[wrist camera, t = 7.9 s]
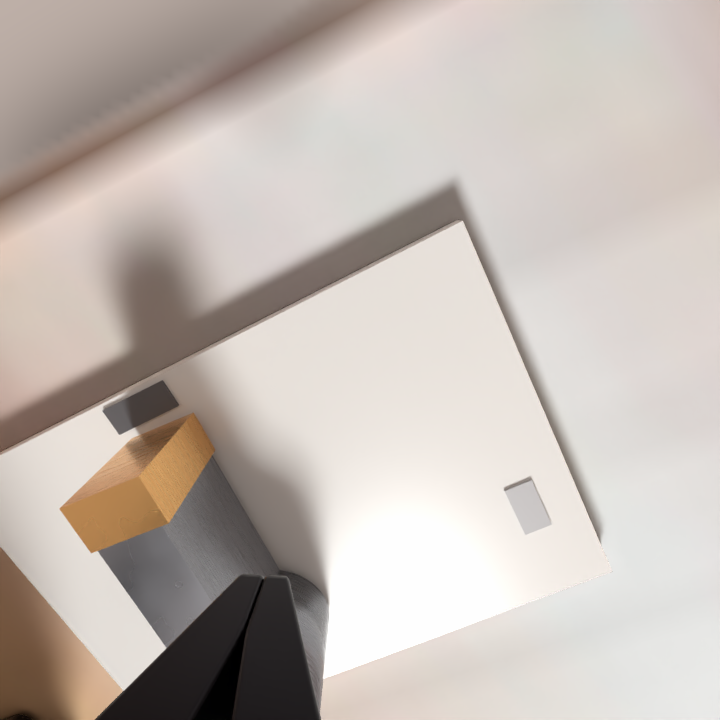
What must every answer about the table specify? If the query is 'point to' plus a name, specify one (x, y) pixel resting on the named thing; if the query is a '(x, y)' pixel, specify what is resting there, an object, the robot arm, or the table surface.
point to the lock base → (339, 464)
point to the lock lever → (182, 534)
